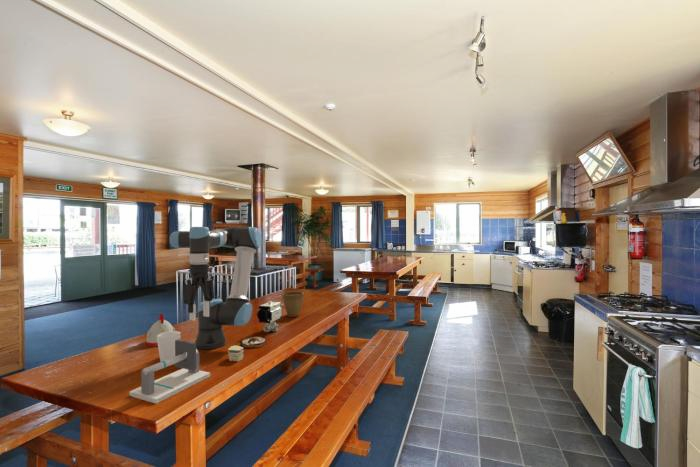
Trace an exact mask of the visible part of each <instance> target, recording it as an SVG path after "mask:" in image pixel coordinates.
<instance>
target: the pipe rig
mask: <svg viewBox="0 0 700 467" xmlns="http://www.w3.org/2000/svg"><path fill="white" fill-rule="evenodd" d="M198 350H199V349H197V348H196V369H195V370H188V369H184V368H181V369H178V370H176V371H174V372H171V373H169V374H167V375H164V376H162V377H160V378H158V379H155V372H158V371H159V370H162V369H163V370H164V369H165V368H167V367H169V366H172V364H173V365H175V364H174V363H177V362H179V361H182V360H184V359H187V353H186V352H184V353H183V354H180V355H178V356H175V357H172V358H170V359H167V360H165V361H161V362H157V363H154V364H152V365H150V366H147V367H144V368H143V369H142V370H141V371H140V373H141V375H140V377H141V379H140V380H141V382H140V383H141V386H139V387H137V388H135V389H132V390H130V391H129V393H128V394H129V396H130V397H132V398H136V399H139V400H141V401H142V400H143V401H146V402H149V403H153V404H154V405H156V404H159V403H160V402H162V401H164V400H167V399H168V398H171V397H172V396H174V395H176V394H178V393H180V392H182V391H184V390H186V389H188V388H190V387H192V386H194V385H197V384H198V383H199V382H201V381H205V380H206V379H208V378H209V377H211V372H210V371H204V370H200V352H199V351H198Z"/></svg>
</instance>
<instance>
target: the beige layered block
mask: <svg viewBox="0 0 700 467" xmlns="http://www.w3.org/2000/svg"><path fill="white" fill-rule="evenodd" d="M227 350H228V351H227V353H228V356H227V357H228V360H229V361H230V362H232V361H233V362H240V361H242V360H243V359H244V356H245V354H244V351H245V350H244V347H243V346H241V345H231V346H229V348H227Z"/></svg>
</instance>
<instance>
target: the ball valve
mask: <svg viewBox="0 0 700 467" xmlns="http://www.w3.org/2000/svg"><path fill="white" fill-rule="evenodd" d="M282 316H283V306H282V301H272V300H268V302H266V303H262V304H260V305H259V306H258V311H257V313H256V317H257V319H258V323H264V325H263V329H262V330H263V331H264V333H270V332H277V331H278V330H279V324H278V323H277V322H276V321H277V320H279V319H281V318H282Z"/></svg>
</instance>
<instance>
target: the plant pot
mask: <svg viewBox="0 0 700 467" xmlns="http://www.w3.org/2000/svg"><path fill="white" fill-rule="evenodd" d="M282 299H283V305H284V308H285V311H286V314H287V316H288V317H290V318H295V317H299V315H300V312H301V309H302V305H303V302H304V292H303V291H286V292H283V293H282Z"/></svg>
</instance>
